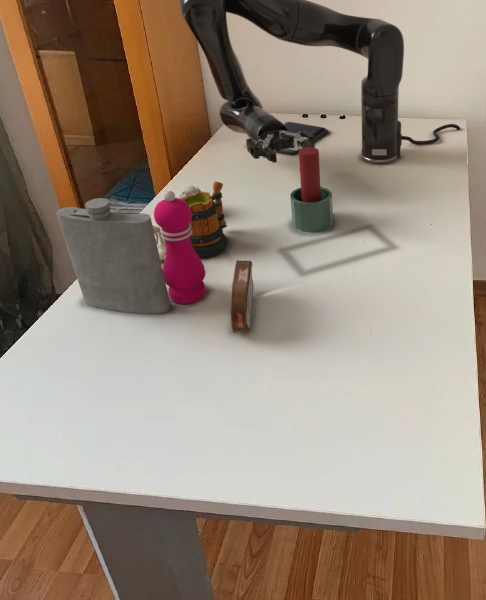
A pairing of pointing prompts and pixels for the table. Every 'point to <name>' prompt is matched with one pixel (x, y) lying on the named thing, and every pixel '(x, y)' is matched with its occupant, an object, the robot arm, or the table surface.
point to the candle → (310, 174)
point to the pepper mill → (179, 251)
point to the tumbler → (312, 212)
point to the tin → (242, 296)
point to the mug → (207, 222)
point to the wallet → (295, 127)
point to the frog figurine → (188, 191)
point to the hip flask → (115, 258)
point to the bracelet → (162, 241)
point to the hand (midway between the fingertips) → (293, 154)
